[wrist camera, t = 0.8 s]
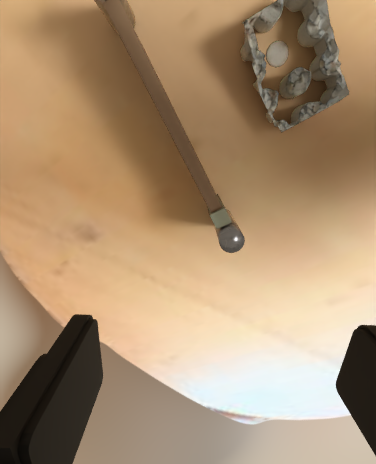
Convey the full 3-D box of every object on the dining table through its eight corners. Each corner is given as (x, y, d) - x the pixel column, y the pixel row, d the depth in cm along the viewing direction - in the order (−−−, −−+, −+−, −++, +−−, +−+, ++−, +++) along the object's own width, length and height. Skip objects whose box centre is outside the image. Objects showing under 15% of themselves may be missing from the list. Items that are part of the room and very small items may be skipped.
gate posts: (126, -1, 23) (95, -70, 16) (234, 221, 31) (248, 246, 23) (106, 14, 24) (66, -46, 16) (217, 229, 31) (225, 256, 24)
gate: (137, 30, 24) (116, -12, 17) (223, 205, 30) (231, 222, 23) (123, 39, 24) (98, 2, 18) (211, 211, 30) (216, 229, 24)
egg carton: (230, 36, 24) (238, 15, 21) (302, -7, 23) (324, -38, 19) (267, 137, 28) (279, 135, 24) (332, 104, 26) (356, 96, 22)
